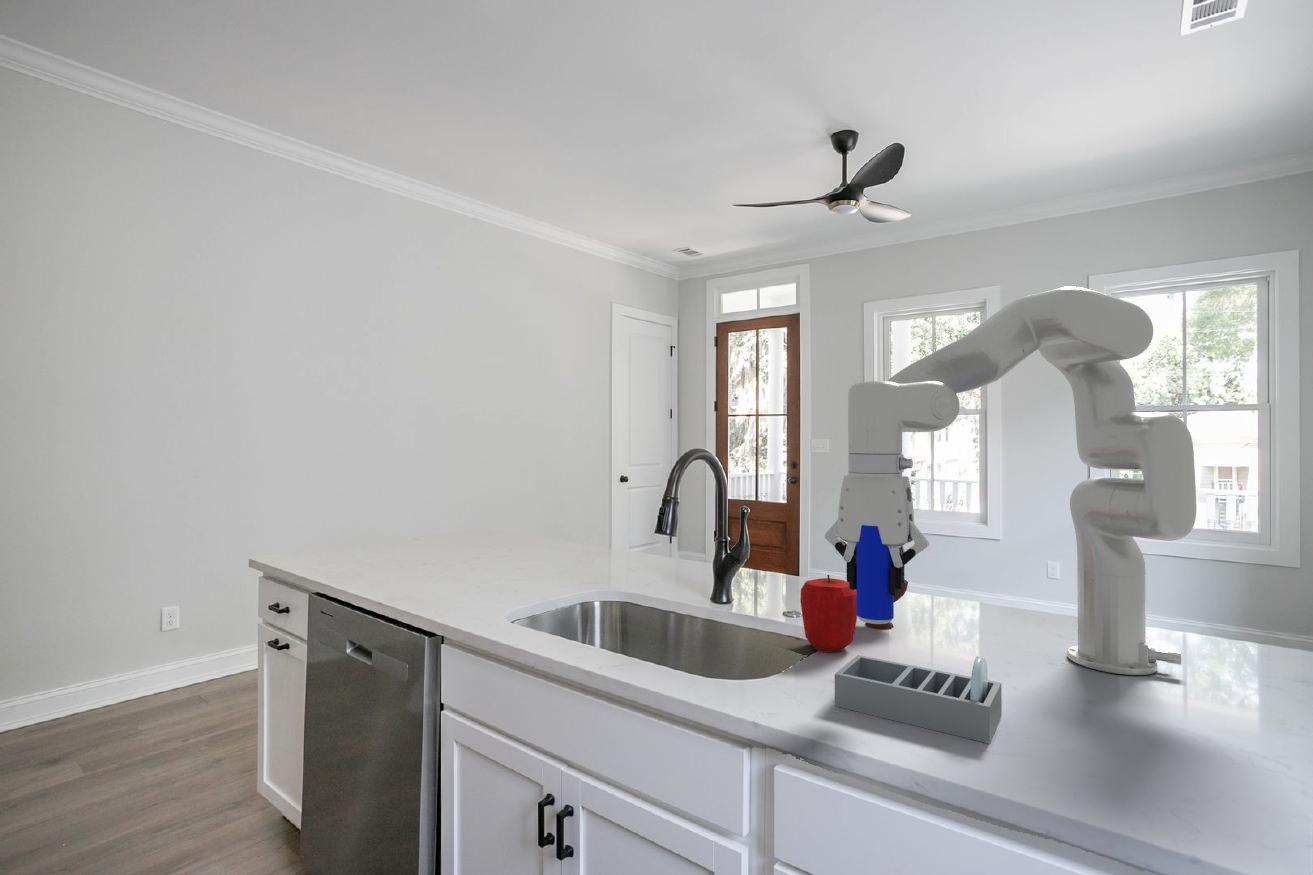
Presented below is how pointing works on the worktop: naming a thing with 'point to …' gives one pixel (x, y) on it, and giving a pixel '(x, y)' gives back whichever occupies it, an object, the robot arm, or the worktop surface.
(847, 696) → the dish rack
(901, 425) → the robot arm
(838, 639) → the apple
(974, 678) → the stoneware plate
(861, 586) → the beverage can
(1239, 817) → the worktop surface
